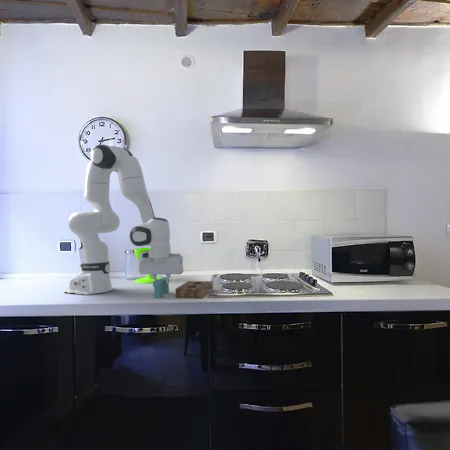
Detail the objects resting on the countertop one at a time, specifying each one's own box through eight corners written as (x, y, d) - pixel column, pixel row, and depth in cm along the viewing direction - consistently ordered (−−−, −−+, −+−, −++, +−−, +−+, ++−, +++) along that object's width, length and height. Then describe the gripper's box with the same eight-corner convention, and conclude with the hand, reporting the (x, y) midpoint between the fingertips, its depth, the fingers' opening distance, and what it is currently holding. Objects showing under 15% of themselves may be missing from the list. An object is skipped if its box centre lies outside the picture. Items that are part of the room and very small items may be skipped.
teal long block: (153, 298, 155) (152, 282, 155) (163, 292, 167) (163, 277, 166) (159, 298, 154) (159, 282, 154) (169, 292, 166) (169, 277, 166)
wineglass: (161, 283, 190) (160, 249, 190) (131, 284, 190) (130, 250, 189) (166, 278, 206) (165, 247, 206) (138, 278, 206) (137, 247, 205)
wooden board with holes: (175, 297, 155) (175, 288, 155) (188, 289, 172) (188, 281, 172) (202, 298, 152) (202, 289, 152) (212, 289, 170) (212, 281, 170)
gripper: (184, 252, 161) (185, 283, 161) (143, 252, 165) (143, 282, 165) (180, 254, 155) (181, 285, 155) (136, 254, 159) (137, 285, 159)
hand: (161, 284), depth 160 cm, fingers closed on teal long block, 3 cm apart
